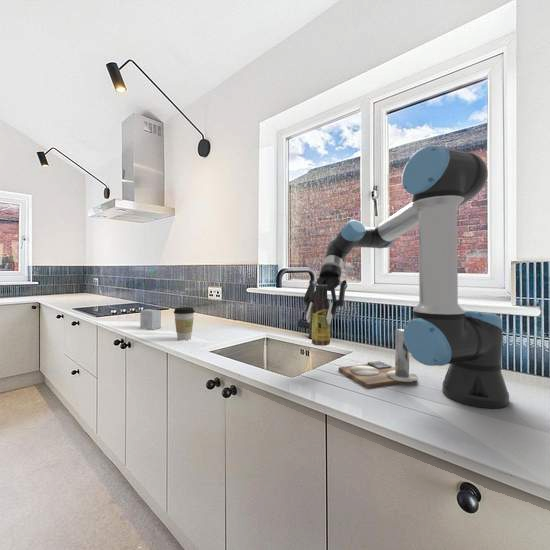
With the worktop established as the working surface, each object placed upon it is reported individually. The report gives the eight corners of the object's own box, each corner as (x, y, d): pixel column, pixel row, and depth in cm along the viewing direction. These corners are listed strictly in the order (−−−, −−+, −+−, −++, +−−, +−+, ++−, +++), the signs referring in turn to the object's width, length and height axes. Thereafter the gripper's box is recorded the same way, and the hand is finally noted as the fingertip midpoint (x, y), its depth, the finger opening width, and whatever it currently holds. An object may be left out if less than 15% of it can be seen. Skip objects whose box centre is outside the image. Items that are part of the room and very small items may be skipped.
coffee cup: (197, 339, 149) (197, 308, 149) (177, 342, 143) (177, 310, 143) (190, 336, 157) (190, 306, 157) (171, 338, 152) (171, 308, 151)
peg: (412, 376, 94) (412, 331, 94) (401, 378, 93) (401, 331, 93) (402, 372, 98) (403, 328, 98) (392, 373, 97) (392, 329, 96)
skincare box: (161, 328, 178) (161, 310, 178) (151, 330, 172) (151, 311, 172) (149, 326, 183) (149, 308, 183) (139, 328, 178) (139, 310, 177)
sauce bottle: (318, 347, 99) (318, 285, 99) (307, 343, 104) (307, 284, 104) (335, 345, 102) (334, 284, 102) (323, 341, 107) (323, 284, 107)
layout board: (424, 383, 93) (424, 377, 93) (373, 391, 87) (373, 384, 87) (384, 365, 110) (384, 359, 110) (338, 370, 104) (338, 365, 104)
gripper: (359, 277, 113) (349, 329, 98) (309, 277, 121) (293, 325, 106) (356, 262, 108) (345, 315, 93) (304, 263, 116) (287, 311, 102)
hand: (317, 320), depth 100 cm, fingers closed on sauce bottle, 6 cm apart
